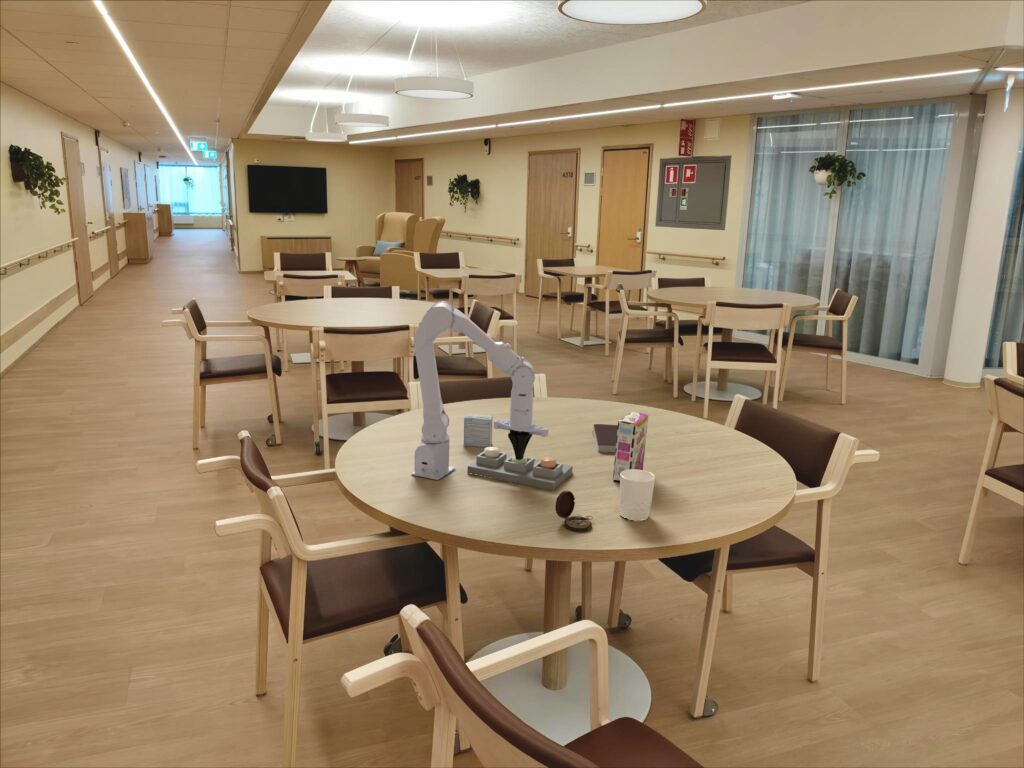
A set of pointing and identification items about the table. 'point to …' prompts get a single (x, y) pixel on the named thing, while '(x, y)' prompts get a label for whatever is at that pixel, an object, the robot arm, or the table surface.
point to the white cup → (636, 493)
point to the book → (605, 437)
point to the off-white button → (491, 452)
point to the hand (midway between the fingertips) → (519, 458)
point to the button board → (520, 471)
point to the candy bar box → (630, 443)
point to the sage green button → (519, 460)
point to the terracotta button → (548, 463)
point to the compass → (566, 508)
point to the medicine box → (478, 430)
